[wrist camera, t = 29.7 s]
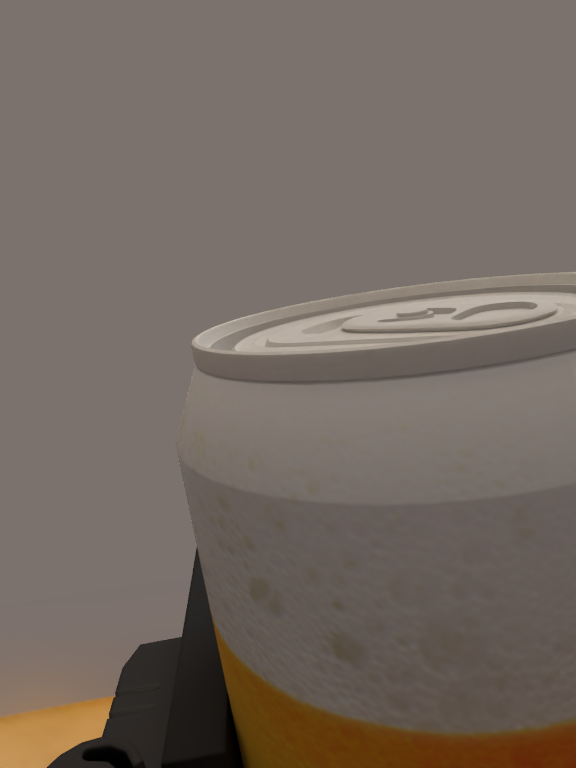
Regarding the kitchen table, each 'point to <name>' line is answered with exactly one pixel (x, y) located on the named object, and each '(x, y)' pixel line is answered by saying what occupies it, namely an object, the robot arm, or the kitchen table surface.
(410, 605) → the beer can
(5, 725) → the kitchen table surface
